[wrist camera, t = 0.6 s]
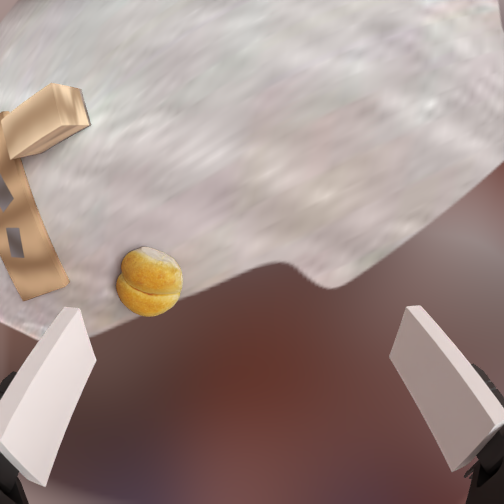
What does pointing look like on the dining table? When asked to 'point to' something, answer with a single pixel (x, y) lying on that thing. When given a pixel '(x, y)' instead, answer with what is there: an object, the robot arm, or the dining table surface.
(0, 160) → the oak plank
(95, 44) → the dining table surface
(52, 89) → the block
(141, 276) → the bread roll
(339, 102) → the dining table surface
